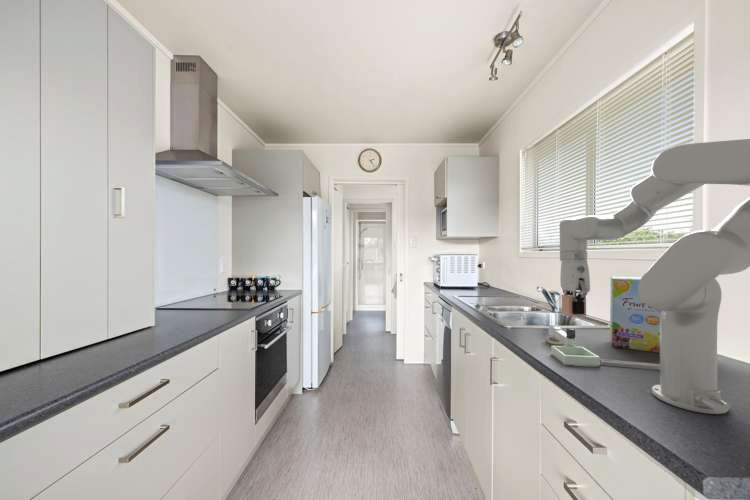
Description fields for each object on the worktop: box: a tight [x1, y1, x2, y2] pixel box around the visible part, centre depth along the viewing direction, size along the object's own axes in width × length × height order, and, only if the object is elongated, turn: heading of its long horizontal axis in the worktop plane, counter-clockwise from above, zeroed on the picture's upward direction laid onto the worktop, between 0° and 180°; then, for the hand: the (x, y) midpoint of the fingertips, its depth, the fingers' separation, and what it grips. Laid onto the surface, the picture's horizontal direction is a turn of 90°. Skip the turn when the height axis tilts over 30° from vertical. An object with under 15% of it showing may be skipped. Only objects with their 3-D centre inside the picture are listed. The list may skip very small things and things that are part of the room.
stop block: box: [561, 294, 587, 317], centre depth 99 cm, size 5×5×6 cm
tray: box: [550, 345, 601, 368], centre depth 98 cm, size 10×10×3 cm
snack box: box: [609, 275, 662, 354], centre depth 109 cm, size 22×9×26 cm, turn 57°
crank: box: [548, 325, 577, 347], centre depth 111 cm, size 16×4×7 cm, turn 171°
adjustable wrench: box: [600, 358, 660, 371], centre depth 93 cm, size 25×6×2 cm, turn 67°
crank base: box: [545, 337, 565, 346], centre depth 117 cm, size 6×6×1 cm
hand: (573, 311), depth 99 cm, fingers closed on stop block, 5 cm apart
